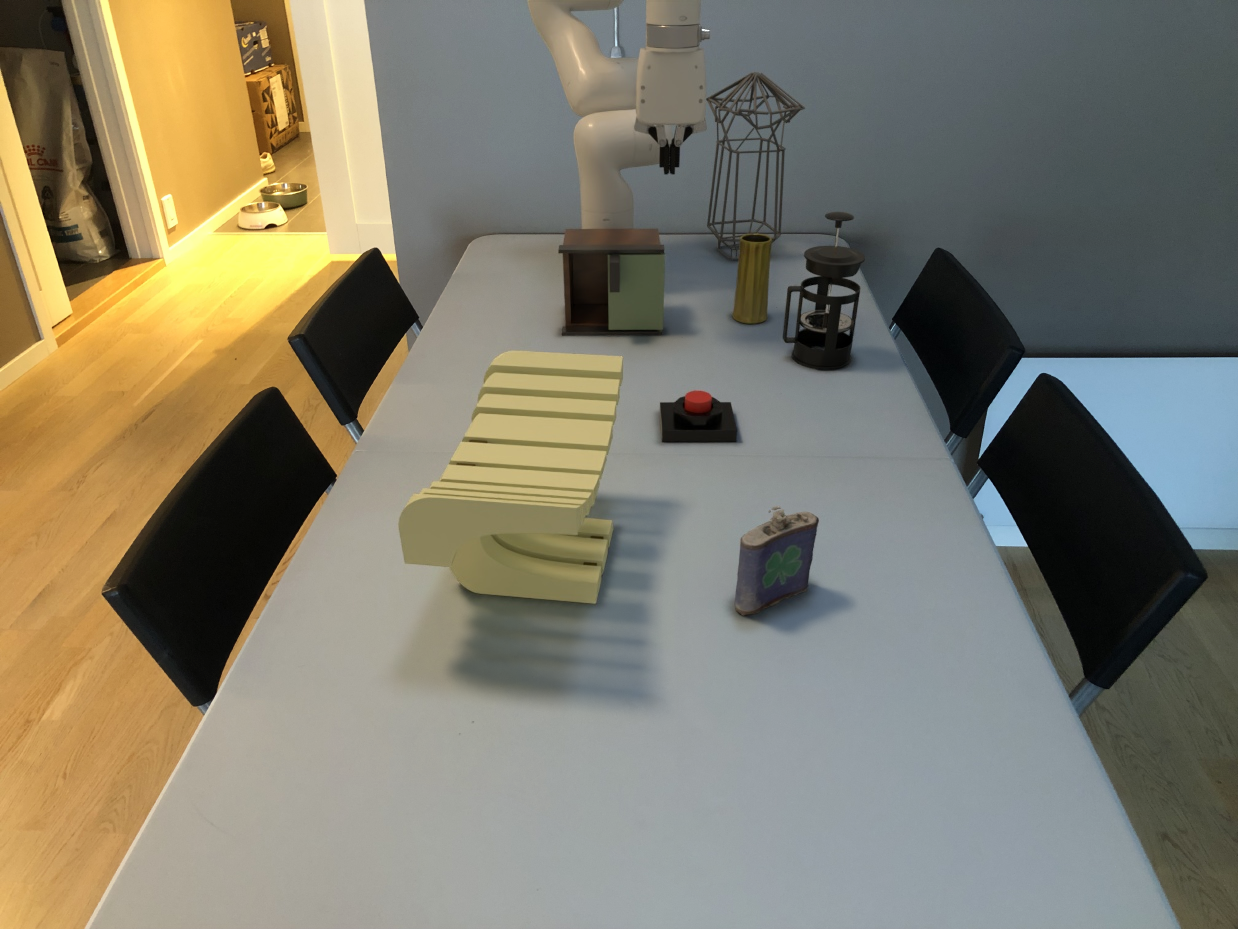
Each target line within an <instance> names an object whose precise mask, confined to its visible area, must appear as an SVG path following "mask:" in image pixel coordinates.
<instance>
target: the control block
mask: <svg viewBox="0 0 1238 929" xmlns="http://www.w3.org/2000/svg"><path fill="white" fill-rule="evenodd" d="M659 423H660V436H661V443H737V440H738V439H737V437H738V427H737V423H736V419H735V414H734V410H733V405H732V402H731V401H720V400H718V398H716V397H714V396H712V402H711V410H710V411H708V412H704V413H694V412H690V411H687V410H686V409H685V395H684V396H680V397H678V398H677V399H676V400H675V401H661V402H659Z"/></svg>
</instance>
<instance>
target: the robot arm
mask: <svg viewBox="0 0 1238 929" xmlns="http://www.w3.org/2000/svg"><path fill="white" fill-rule="evenodd" d="M526 1H527V6H528V9H529V10H528V11H529V14H530V17H531V19H532V22H533V25H534V27H535V29H536V31H537V33H538V34H539V36H540V38H541V39H542V41H543V42H544V44H545V45H546V47H547V49H548V50H549V52H550V54H551V56H552V59H553V61H554V65H555V68H556V71H557V74H558V77H559V80H560V83H561V86H562V89H563V92H564V95H565V97H566V101H567V102H568V105H569V107H570V109H571V110H572V112H573V113H574V114H575V115H577V116H578V117H581V118H580V119H579V120H578V121H577V123H576V124H575V126H574V129H573V136H572V138H573V147H574V153H575V157H576V163H577V170H578V176H579V190H580V191H579V192H580V214H581V216H580V217H581V229H634V194H633V190H632V188H631V187H630V185H629V183H628V182H627V181H626V180H625V178H624V177H623V176H622V173H621V171H622V170H626V169H631V168H639V167H648V166H656V165H659V166H658V167H659V168H660V169H661V168H663V175H666V176H667V175H669V174H670V175H676V168H680V162H681V161H680V160H681V146H683V143H684V142H685V141H686V140H687V139H688V138H690V137H691V135H695V134H699V133H702V132H705V131H706V130H708V129H707V128H708V126H707V121H706V114H707V100H706V98H707V73H706V57H705V49H704V48H703V47H701V46H700V43H702V41H705V40H710V39H711V29H710V28H705V27H703V26H702V25H701V10H702V8H701V6H702V0H645V2H646V3H645V7H646V8H645V47H640V49H639V54H638V57H633V56H632V57H631V56H623V57H607V56H605V55H604V54H603V52H602V50H601V47H600V44H599V41H598V39H597V37H596V35H595V33H594V32H593V31H592V30H591V29H590V27H588V26H587V25H586V24H585V23H584V22H583V21H582V20H581V19H580V18H578V17H577V16H575V15H574V14H573V13H572V12H589V11H590V12H591V11H594V12H595V11H608V10H609V11H610V10H614V9H617V8H618V7H619V6H621V4H623V2H624V0H526ZM672 126H674V127H675V128H674V133H673V129H672Z"/></svg>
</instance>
